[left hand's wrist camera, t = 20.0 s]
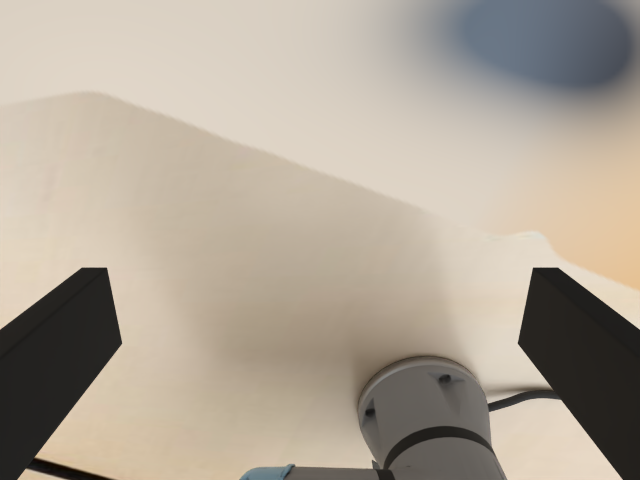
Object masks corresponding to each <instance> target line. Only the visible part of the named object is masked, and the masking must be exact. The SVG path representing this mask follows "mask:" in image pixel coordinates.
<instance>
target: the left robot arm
mask: <svg viewBox="0 0 640 480" xmlns="http://www.w3.org/2000/svg"><path fill="white" fill-rule="evenodd" d="M121 344H122V340H121V335H120V330H119V325H118V320H117V315H116V310H115V305H114V300H113V295H112V290H111V286H110V281H109V276H108V271H107V268H81V269H80V270H78V271H77V272H76V273H74V274H73V275H72V276H70V277H69V278H68V279H66V280H65V281H64V282H63V283H61V284H60V285H59V286H57V287H56V288H55V289H53V290H52V291H51V292H49V293H48V294H47V295H45V296H44V297H43V298H41V299H40V300H39V301H37V302H36V303H35V304H34V305H32V306H31V307H30V308H28V309H27V310H26V311H24V312H23V313H22V314H20V315H19V316H18V317H16V318H15V319H14V320H12V321H11V322H10V323H8V324H7V325H6V326H5V327H3V328H2V329H1V330H0V480H17V479H18V478H19V477H20V475H21V474H22V473H23V471H24V470H25V469H26V468H27V466H28V465H29V464H30V462H31V461H32V460H33V458H34V457H35V456H36V455H37V453H38V452H39V451H40V449H41V448H42V447H43V445H44V444H45V443H46V442H47V440H48V439H49V438H50V436H51V435H52V434H53V433H54V431H55V430H56V429H57V427H58V426H59V425H60V423H61V422H62V421H63V420H64V418H65V417H66V416H67V414H68V413H69V412H70V410H71V409H72V408H73V407H74V405H75V404H76V403H77V401H78V400H79V399H80V398H81V396H82V395H83V394H84V392H85V391H86V390H87V388H88V387H89V386H90V385H91V383H92V382H93V381H94V379H95V378H96V377H97V375H98V374H99V373H100V372H101V370H102V369H103V368H104V366H105V365H106V364H107V363H108V361H109V360H110V359H111V357H112V356H113V355H114V353H115V352H116V351H117V350H118V348H119V347H120V346H121ZM518 344H519V346H520V347H521V348H522V350H523V351H524V352H525V353H526V355H527V356H528V357H529V359H530V360H531V361H532V363H533V364H534V365H535V366H536V368H537V369H538V370H539V372H540V373H541V374H542V375H543V377H544V378H545V379H546V381H547V382H548V383H549V385H550V386H551V387H552V388H553V390H554V391H543V390H541V391H528V392H523V393H520V394H517V395H514V396H512V397H509V398H506V399H503V400H499V401H496V402H492V403H489V404H487V400H486V397H485V394H484V392H483V390H482V389H481V387H480V385H479V383H478V381H477V380H476V378H475V377H474V376H473V375H472V374H471V373H470V372H469V371H468V370H467V369H466V368H464V367H463V366H461V365H459V364H457V363H455V362H453V361H450V360H447V359H444V358H439V357H414V358H408V359H404V360H401V361H398V362H396V363H393V364H391V365H389V366H387V367H386V368H384V369H382V370H381V371H380V372H378V373H377V374H376V375H375V376H374V377H373V378H372V379H371V380H370V381H369V382H368V383H367V385H366V386H365V388H364V390H363V391H362V394H361V396H360V400H359V404H358V416H359V424H360V429H361V432H362V435H363V437H364V440H365V441H366V443H367V445H368V447H369V449H370V451H371V452H372V454H373V456H374V458H375V460H376V462H377V463H376V462H375V461H373V460H372V464H373V469H355V468H322V467H296V466H295V464H289V465H287V466H286V467H258V468H254V469H251V470H249V471H248V472H246V473H245V474H244V475H243V476H242V477H241V478H240V480H507V478H506V476H505V474H504V472H503V470H502V468H501V466H500V463H499V462H498V460H497V457H496V455H495V453H494V451H493V449H492V444H491V432H490V420H489V412H491V411H494V410H498V409H501V408H505V407H508V406H511V405H514V404H517V403H519V402H522V401H525V400H529V399H536V398H551V399H560V400H562V401H563V403H564V404H565V405H566V407H567V408H568V409H569V410H570V412H571V413H572V414H573V416H574V417H575V418H576V420H577V421H578V422H579V423H580V425H581V426H582V427H583V429H584V430H585V431H586V433H587V434H588V435H589V436H590V438H591V439H592V440H593V442H594V443H595V444H596V445H597V447H598V448H599V449H600V451H601V452H602V453H603V455H604V456H605V457H606V458H607V460H608V461H609V462H610V464H611V465H612V466H613V468H614V469H615V470H616V471H617V473H618V474H619V475H620V477H621V478H622V479H623V480H640V330H639V329H638V328H637V327H635V326H634V325H633V324H632V323H630V322H629V321H628V320H626V319H625V318H624V317H622V316H621V315H620V314H618V313H617V312H616V311H614V310H613V309H612V308H610V307H609V306H608V305H606V304H605V303H604V302H603V301H601V300H600V299H599V298H597V297H596V296H595V295H593V294H592V293H591V292H589V291H588V290H587V289H585V288H584V287H583V286H581V285H580V284H579V283H577V282H576V281H575V280H574V279H572V278H571V277H570V276H568V275H567V274H566V273H564V272H563V271H562V270H560V269H559V268H533V271H532V276H531V281H530V286H529V290H528V295H527V300H526V305H525V310H524V315H523V320H522V325H521V330H520V335H519V340H518Z"/></svg>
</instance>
